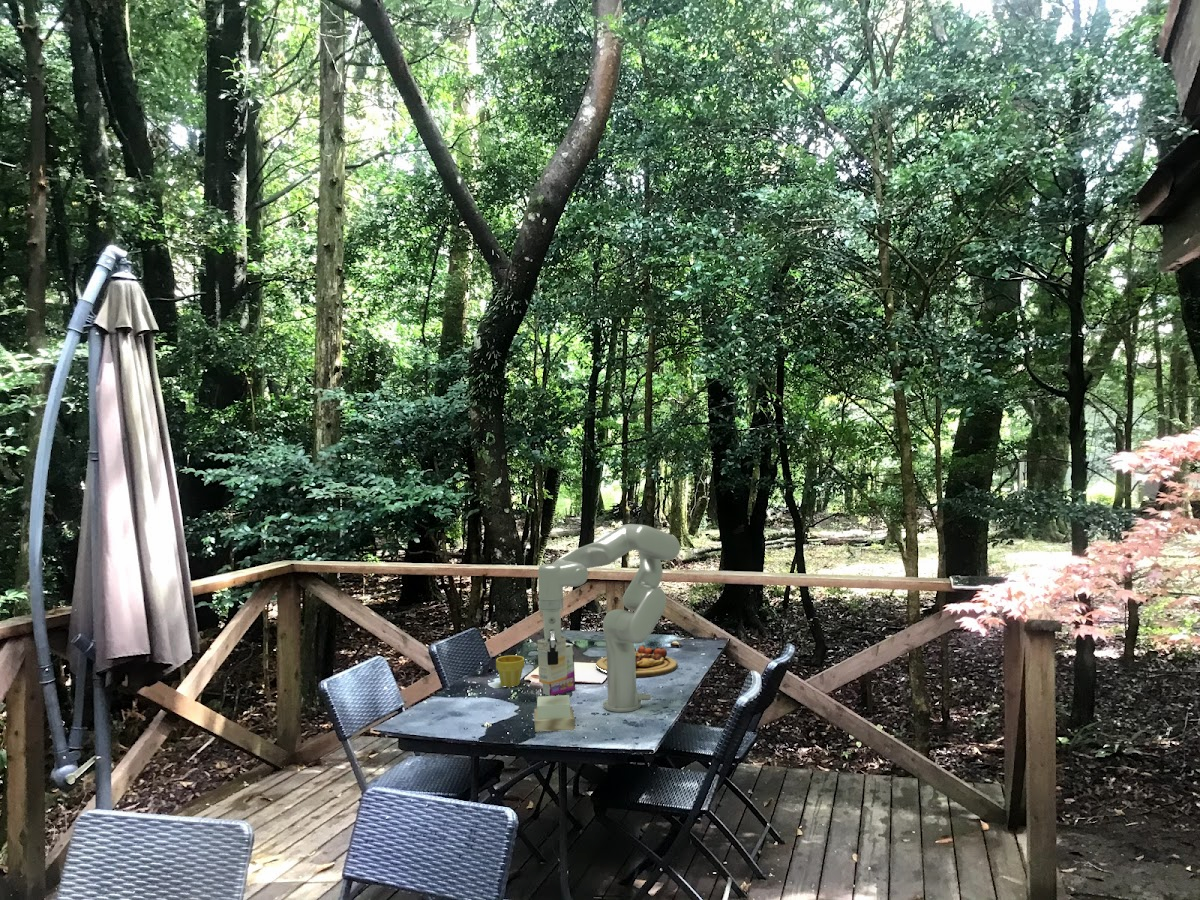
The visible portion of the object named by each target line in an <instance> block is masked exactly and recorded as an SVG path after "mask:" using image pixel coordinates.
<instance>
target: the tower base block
mask: <svg viewBox="0 0 1200 900" xmlns="http://www.w3.org/2000/svg"><path fill="white" fill-rule="evenodd" d="M533 714H534V715H533V717H534V718H533V719H534V720H533V721H534V722H533V723H534V733H535V732H537V733H540V732H539V731H553V732H559V731H558V730H570V731H575V730H576V722H575V721H576V719H575V715H574V709H573V706H570V718H560V719H540V720H537V708H534V709H533ZM574 729H575V730H574Z"/></svg>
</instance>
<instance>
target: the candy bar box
mask: <svg viewBox="0 0 1200 900" xmlns="http://www.w3.org/2000/svg"><path fill="white" fill-rule="evenodd" d="M574 650H575V649H574V644H573V643H569V642H566V662H567V678H566V679H563V680H561V681H558V682H555V683H552V684H544V683H542V694H543V695H544V694H545V695H544V696H555V695H556V696H559V695H563V694H566V693H565V692H567V693H570V692H573V691H572V690H574V691H575V690H576V678H575V676H576V675H575V673H576V672H575V654H574V653H575V652H574ZM569 691H570V692H569ZM562 693H563V694H562ZM558 694H559V695H558Z"/></svg>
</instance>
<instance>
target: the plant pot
mask: <svg viewBox="0 0 1200 900" xmlns="http://www.w3.org/2000/svg"><path fill="white" fill-rule="evenodd" d="M524 668H525V657H524V656H521V655H512V654H511V655H509V654H508V655H504V656H499V657H497V658H496V660H495V669H496V670H497V671H498V676H499V679H500V680H499V681H500V686H501V685H502V686H506V687H512V686H516V685H519V684H520V683H521V678H522V674H523V669H524ZM502 686H501V687H502ZM519 686H520V685H519Z"/></svg>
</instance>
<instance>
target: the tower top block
mask: <svg viewBox="0 0 1200 900" xmlns="http://www.w3.org/2000/svg"><path fill="white" fill-rule="evenodd" d="M536 702H537V703H536V709H537V720H540V719H560V718H570V707H571V697H570V694H566V695H564V694H559V695H556V696H547V695H544V696H543V695H542V696H537V701H536Z"/></svg>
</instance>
